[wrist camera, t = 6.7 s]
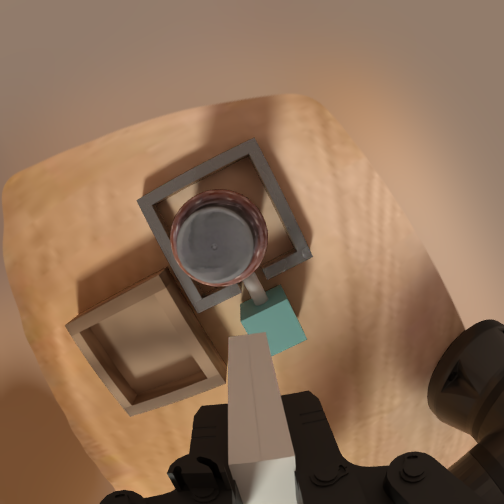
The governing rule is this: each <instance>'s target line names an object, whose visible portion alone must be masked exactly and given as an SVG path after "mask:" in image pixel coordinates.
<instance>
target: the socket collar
mask: <svg viewBox="0 0 504 504" xmlns="http://www.w3.org/2000/svg"><path fill="white" fill-rule="evenodd" d="M247 156H249V158H250V160H251V162H252V164H253V166H254V168H255V170H256V172H257V174H258V176H259V178H260V180H261V182H262V184H263V186H264V188H265V190H266V192H267V194H268V196H269V198H270V200H271V202H272V204H273V206H274V208H275V210H276V212H277V214H278V216H279V218H280V220H281V222H282V224H283V226H284V228H285V230H286V232H287V234H288V236H289V238H290V241H291V243H292V245H293V247H294V249H293V250H291V251H289V252H287V253H285V254H283V255H281V256H279V257H277V258H275V259H273V260H271V261H269V262H267V263H265V264H263V265H261V268H262V270H263V272H264V274H265V276H266V278H267V280H268V279H270V278H272V277H274V276H276V275H278V274H280V273H282V272H284V271H286V270H288V269H290V268H292V267H294V266H296V265H298V264H300V263H302V262H304V261H306V260H308V259H310V258H312V257H313V256H312V254H311V251H310V249H309V247H308V245H307V243H306V241H305V239H304V236H303V234H302V232H301V230H300V228H299V226H298V224H297V222H296V219H295V217H294V215H293V213H292V211H291V209H290V207H289V205H288V203H287V201H286V199H285V197H284V195H283V193H282V191H281V189H280V187H279V185H278V183H277V181H276V179H275V177H274V175H273V173H272V171H271V169H270V167H269V165H268V163H267V161H266V159H265V157H264V155H263V153H262V151H261V149H260V147H259V145H258V144H257V142H256V140H255V138H253V139H250V140H248V141H246V142H244V143H242V144H240V145H238V146H236V147H234V148H232V149H230V150H228V151H226V152H224V153H222V154H220V155H218V156H216V157H214V158H212V159H210V160H208V161H206V162H204V163H202V164H200V165H198V166H196V167H195V168H193V169H191V170H189V171H187V172H185V173H183V174H182V175H180V176H178V177H176V178H174V179H173V180H171V181H169V182H167V183H165V184H164V185H162V186H160V187H158V188H157V189H155V190H153V191H152V192H150V193H148V194H146V195H145V196H143V197H141V198H140V199H138V200H137V202H138V204H139V206H140V208H141V210H142V212H143V214H144V216H145V218H146V220H147V222H148V224H149V226H150V228H151V230H152V232H153V234H154V236H155V238H156V240H157V242H158V243H159V245H160V247H161V249H162V251H163V253H164V255H165V257H166V258H167V260H168V262H169V264H170V266H171V268H172V269H173V271H174V273H175V275H176V277H177V278H178V280H179V282H180V284H181V285H182V287H183V289H184V291H185V292H186V294H187V296H188V298H189V299H190V301H191V303H192V304H193V306H194V308H195V310H196V311H197V313H200V312H202V311H204V310H206V309H208V308H210V307H213V306H215V305H217V304H219V303H221V302H223V301H225V300H227V299H229V298H231V297H233V296H235V295H237V294H240V293H242V287H241V285H240V283H239V282H238V283H236V284H233V285H229V286H219V287H216V288H214V289H212V290H210V291H208V292H206V293H203V291H202V289H201V287H200V286H199V284H198V282H197V281H196V280H194V279H192V278H191V277H190V276H188V275H187V274H186V273H185V272H184V271H183V270H182V269H181V268H180V267H179V265H178V263H177V262H176V260H175V258H174V255H173V252H172V249H171V244H170V233H171V232H170V230H169V228H168V226H167V225H166V223H165V221H164V219H163V217H162V215H161V213H160V211H159V209H158V207H157V205H156V204H158V203H160V202H161V201H163V200H165V199H167V198H169V197H170V196H172V195H174V194H176V193H178V192H179V191H181V190H183V189H185V188H187V187H189V186H190V185H192V184H194V183H196V182H198V181H200V180H202V179H204V178H205V177H207V176H209V175H211V174H213V173H215V172H217V171H219V170H221V169H223V168H225V167H227V166H229V165H231V164H233V163H235V162H237V161H239V160H241V159H243V158H245V157H247Z"/></svg>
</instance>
